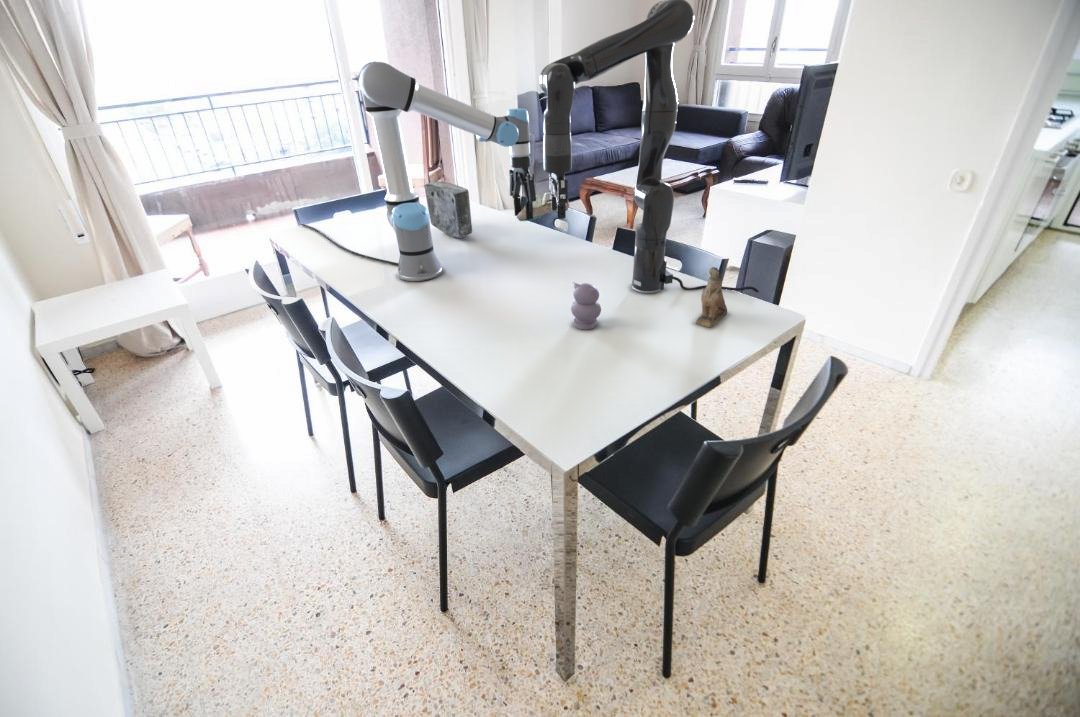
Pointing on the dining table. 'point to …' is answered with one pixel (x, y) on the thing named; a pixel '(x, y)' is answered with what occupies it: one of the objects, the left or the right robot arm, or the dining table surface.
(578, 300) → the cat figurine
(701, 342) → the dining table surface
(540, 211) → the speckled felt slipper
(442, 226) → the concrete block
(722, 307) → the worn brown figurine
